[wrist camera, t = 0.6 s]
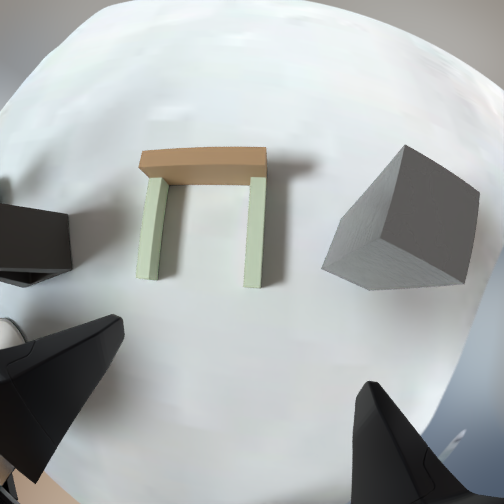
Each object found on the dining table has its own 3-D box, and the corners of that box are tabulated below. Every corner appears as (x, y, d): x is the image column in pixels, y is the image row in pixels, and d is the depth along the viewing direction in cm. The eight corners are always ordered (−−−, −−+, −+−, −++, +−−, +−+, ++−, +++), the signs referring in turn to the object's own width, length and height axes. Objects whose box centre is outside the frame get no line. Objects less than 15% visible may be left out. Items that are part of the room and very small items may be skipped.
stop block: (369, 290, 21) (464, 283, 9) (321, 268, 22) (379, 238, 9) (386, 241, 22) (479, 192, 9) (340, 218, 22) (404, 144, 10)
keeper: (260, 288, 22) (258, 287, 18) (145, 279, 22) (122, 276, 19) (267, 170, 23) (266, 147, 19) (159, 170, 24) (142, 151, 20)
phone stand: (69, 214, 24) (-14, 176, 12) (73, 270, 23) (-21, 252, 11) (21, 239, 24) (-52, 216, 13) (24, 287, 24) (-55, 278, 12)
